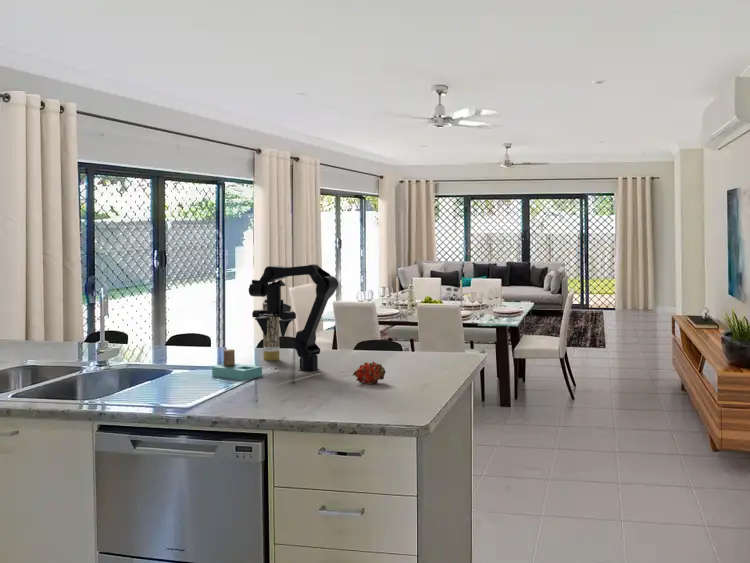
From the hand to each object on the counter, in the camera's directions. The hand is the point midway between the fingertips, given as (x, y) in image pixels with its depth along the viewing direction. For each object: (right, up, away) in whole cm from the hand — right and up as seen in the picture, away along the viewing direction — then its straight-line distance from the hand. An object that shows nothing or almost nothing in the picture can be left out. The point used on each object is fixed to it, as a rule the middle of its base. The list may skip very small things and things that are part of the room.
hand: (274, 336), depth 301 cm
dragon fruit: (+38, -15, -31) cm, 52 cm away
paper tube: (-4, -12, +20) cm, 24 cm away
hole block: (-12, -14, -18) cm, 26 cm away
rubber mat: (-3, -14, -9) cm, 17 cm away
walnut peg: (-15, -14, -16) cm, 26 cm away
